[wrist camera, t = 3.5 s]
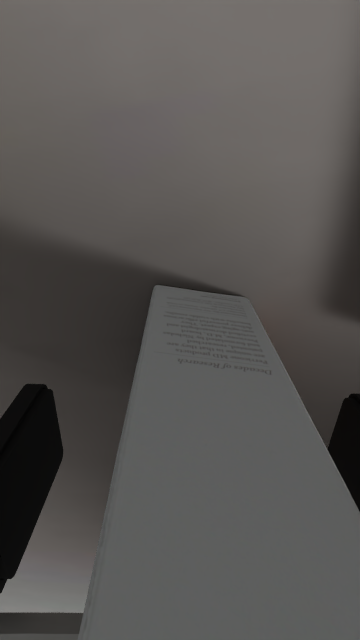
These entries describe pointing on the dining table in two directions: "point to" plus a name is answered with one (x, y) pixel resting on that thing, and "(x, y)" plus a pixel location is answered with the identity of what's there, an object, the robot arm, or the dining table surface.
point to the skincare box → (221, 493)
